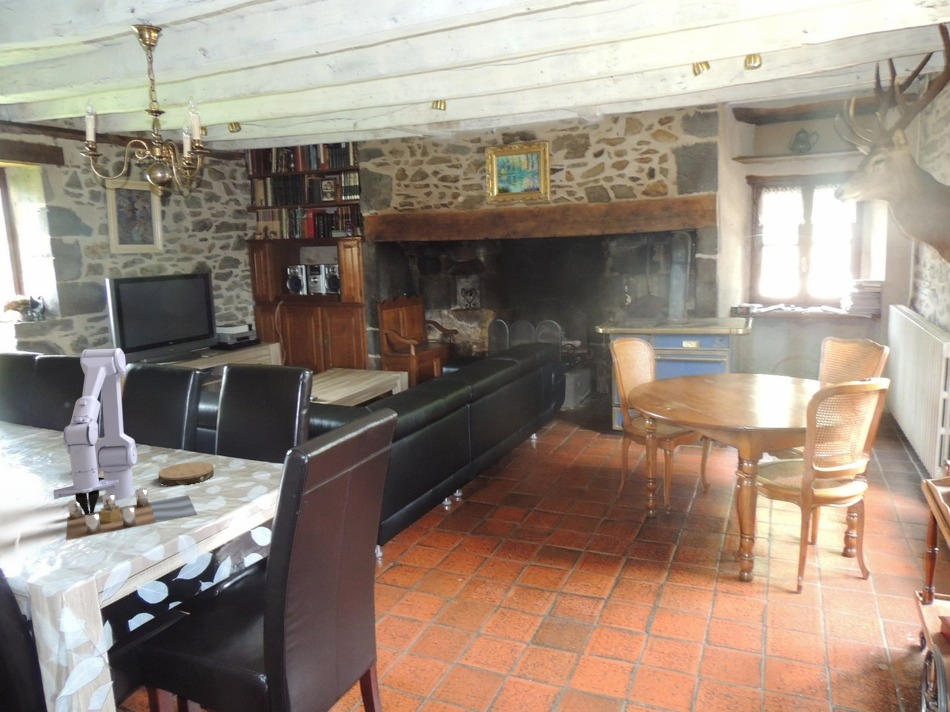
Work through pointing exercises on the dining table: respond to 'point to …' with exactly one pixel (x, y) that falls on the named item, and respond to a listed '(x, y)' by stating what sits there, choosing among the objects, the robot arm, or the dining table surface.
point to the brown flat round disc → (186, 474)
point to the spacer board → (137, 516)
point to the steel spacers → (108, 500)
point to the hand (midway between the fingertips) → (90, 519)
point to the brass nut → (110, 514)
